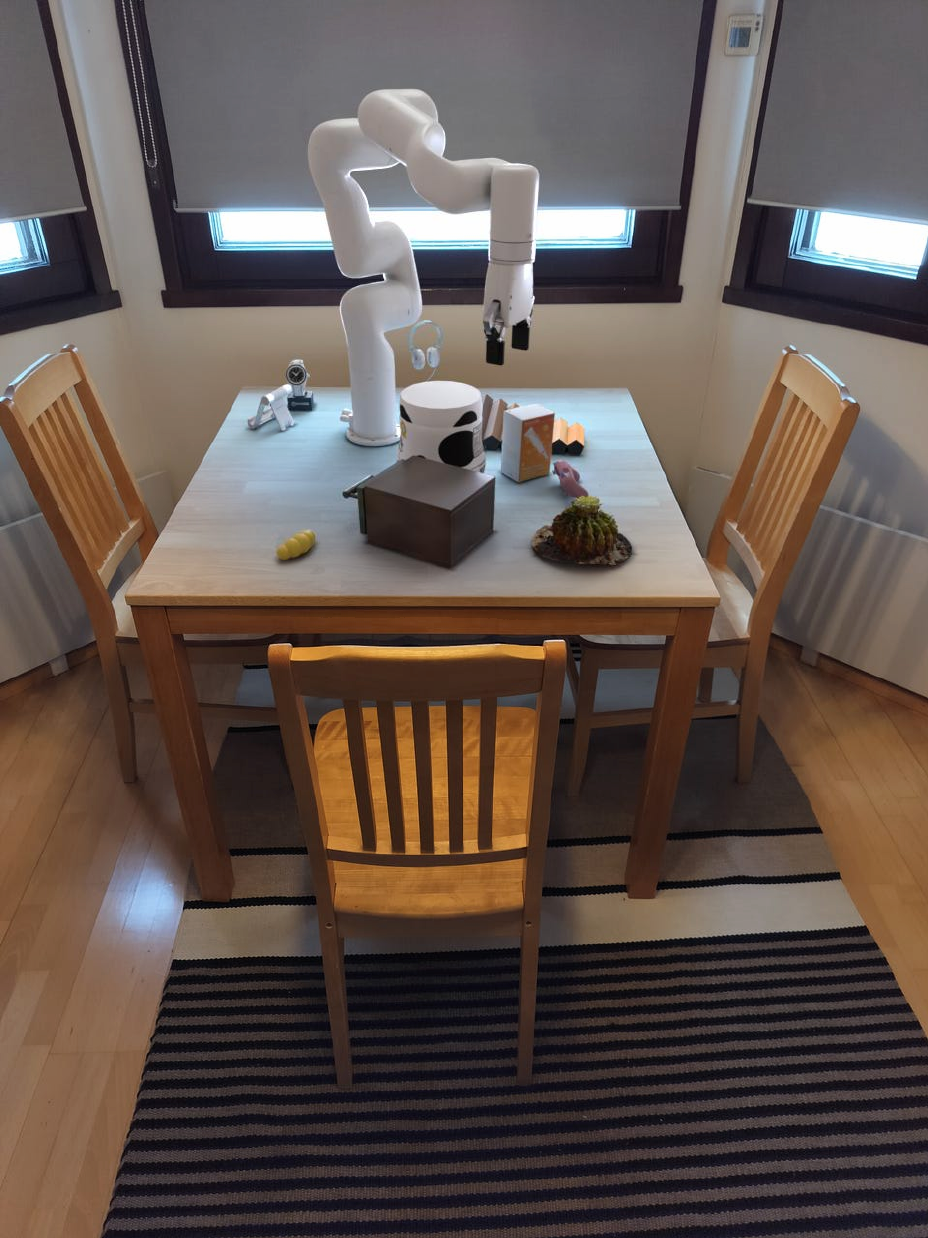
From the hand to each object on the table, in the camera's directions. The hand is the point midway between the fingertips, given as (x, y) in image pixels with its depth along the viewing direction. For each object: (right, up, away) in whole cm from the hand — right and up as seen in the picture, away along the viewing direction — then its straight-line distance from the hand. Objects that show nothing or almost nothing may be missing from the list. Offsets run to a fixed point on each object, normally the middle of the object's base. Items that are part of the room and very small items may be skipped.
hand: (507, 356), depth 145 cm
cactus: (+13, -34, -1) cm, 36 cm away
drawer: (-18, -29, +3) cm, 34 cm away
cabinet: (-13, -32, +1) cm, 34 cm away
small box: (+5, -17, +23) cm, 29 cm away
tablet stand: (-51, -2, +43) cm, 66 cm away
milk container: (-12, -19, +19) cm, 30 cm away
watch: (-46, +4, +52) cm, 70 cm away
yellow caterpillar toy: (-35, -35, -4) cm, 49 cm away
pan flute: (+7, -3, +42) cm, 43 cm away
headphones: (-17, +5, +54) cm, 56 cm away
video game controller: (+13, -21, +17) cm, 30 cm away
